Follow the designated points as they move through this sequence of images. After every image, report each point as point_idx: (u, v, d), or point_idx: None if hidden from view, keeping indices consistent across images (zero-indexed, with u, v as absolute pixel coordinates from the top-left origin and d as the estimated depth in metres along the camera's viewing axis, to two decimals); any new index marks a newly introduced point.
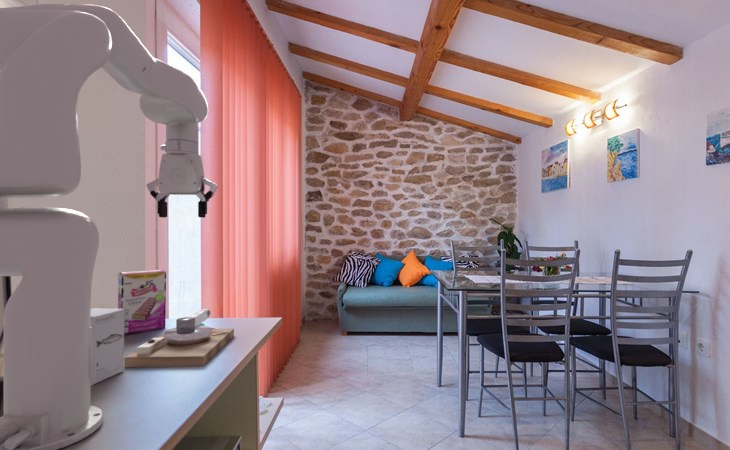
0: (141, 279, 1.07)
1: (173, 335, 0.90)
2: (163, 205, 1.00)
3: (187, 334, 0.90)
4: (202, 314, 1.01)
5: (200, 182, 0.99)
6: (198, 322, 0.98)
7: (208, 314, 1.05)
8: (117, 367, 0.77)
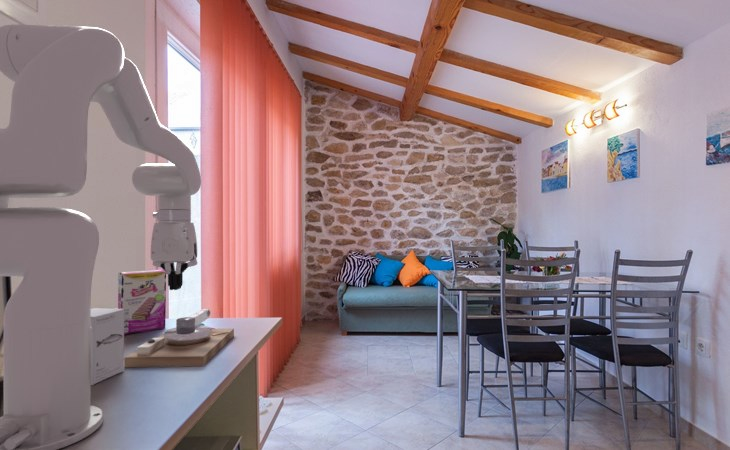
0: (141, 279, 1.07)
1: (173, 335, 0.90)
2: None
3: (187, 334, 0.90)
4: (202, 314, 1.01)
5: (192, 250, 0.99)
6: (198, 322, 0.98)
7: (208, 314, 1.05)
8: (117, 367, 0.77)
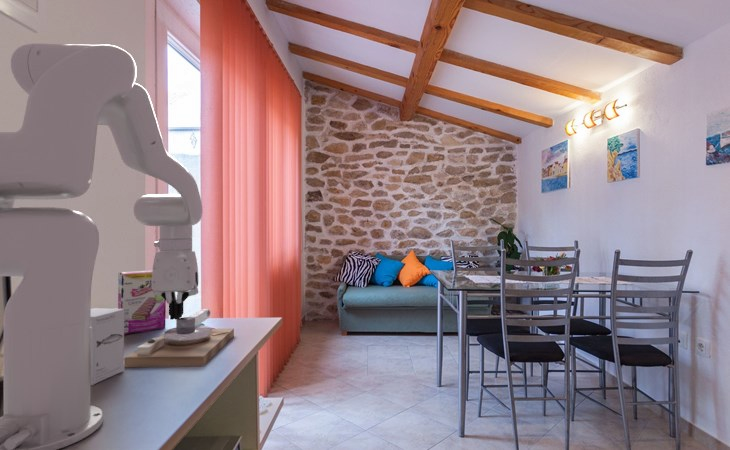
0: (141, 279, 1.07)
1: (173, 335, 0.90)
2: None
3: (187, 334, 0.90)
4: (202, 314, 1.01)
5: (194, 279, 0.99)
6: (198, 322, 0.98)
7: (208, 314, 1.05)
8: (117, 367, 0.77)
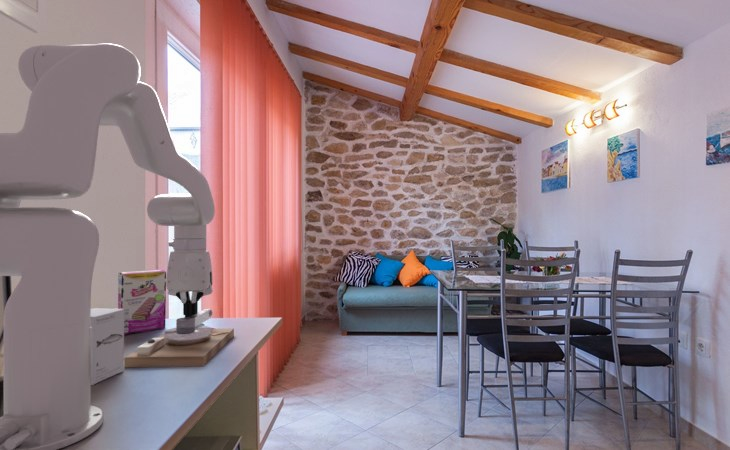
0: (141, 279, 1.07)
1: (173, 335, 0.90)
2: None
3: (186, 334, 0.90)
4: (203, 314, 1.01)
5: (208, 279, 0.99)
6: (199, 322, 0.98)
7: (210, 314, 1.05)
8: (117, 367, 0.77)
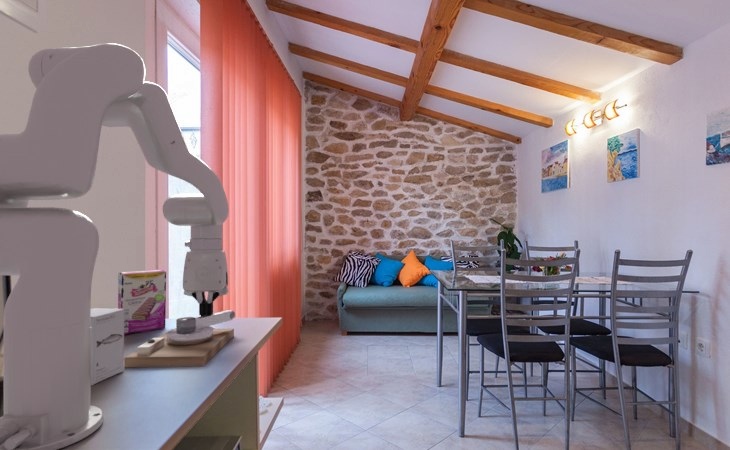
0: (141, 279, 1.07)
1: (170, 333, 0.91)
2: None
3: (180, 334, 0.90)
4: (218, 315, 0.99)
5: (225, 279, 0.99)
6: (208, 323, 0.97)
7: (231, 316, 1.03)
8: (117, 367, 0.77)
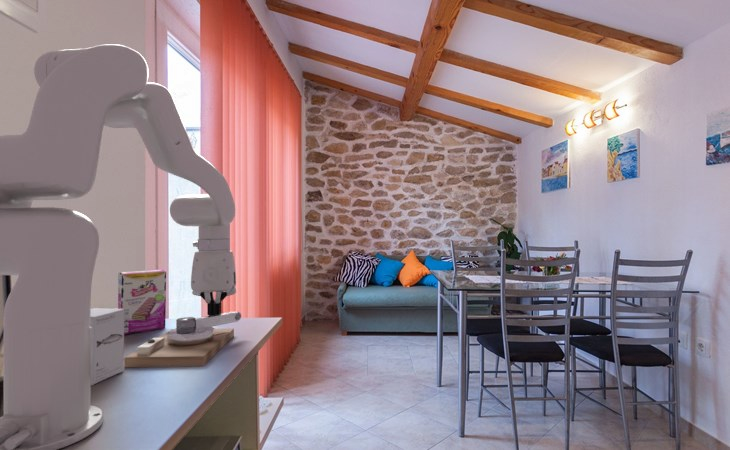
0: (141, 279, 1.07)
1: (170, 333, 0.91)
2: None
3: (177, 334, 0.90)
4: (221, 317, 0.98)
5: (232, 279, 0.99)
6: (210, 324, 0.96)
7: (236, 317, 1.01)
8: (117, 367, 0.77)
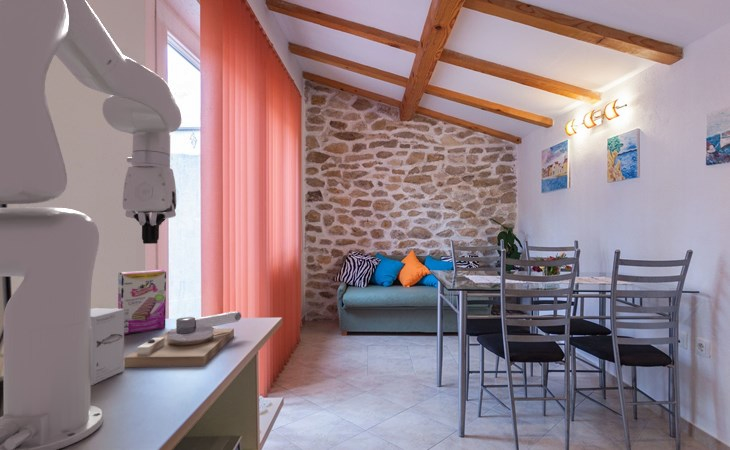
0: (141, 279, 1.07)
1: (170, 333, 0.91)
2: None
3: (177, 334, 0.90)
4: (221, 317, 0.98)
5: (170, 198, 0.88)
6: (210, 324, 0.96)
7: (236, 317, 1.01)
8: (117, 367, 0.77)
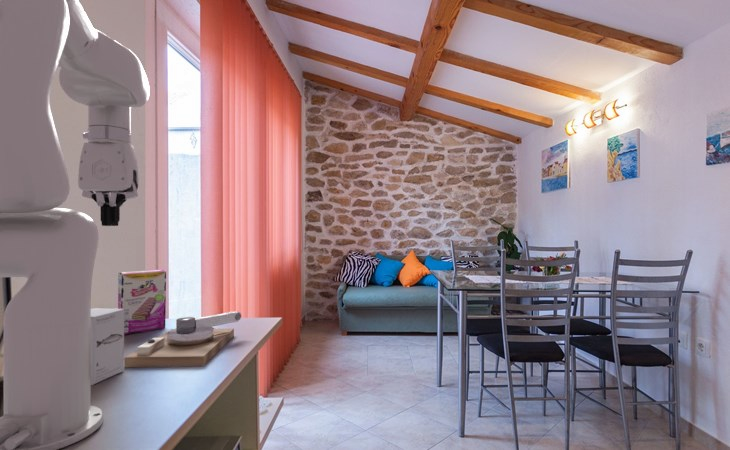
0: (141, 279, 1.07)
1: (170, 333, 0.91)
2: None
3: (177, 334, 0.90)
4: (221, 317, 0.98)
5: (130, 177, 0.82)
6: (210, 324, 0.96)
7: (236, 317, 1.01)
8: (117, 367, 0.77)
